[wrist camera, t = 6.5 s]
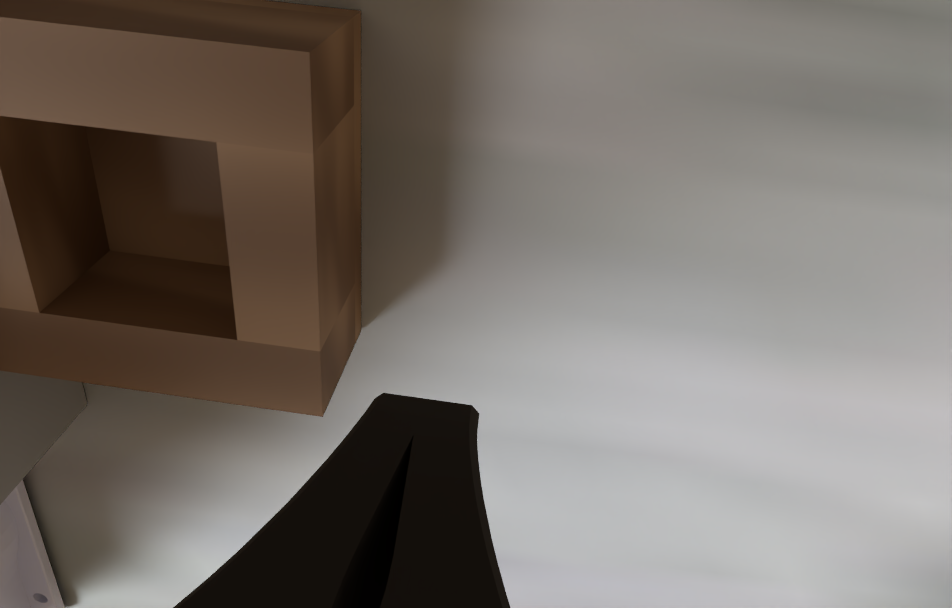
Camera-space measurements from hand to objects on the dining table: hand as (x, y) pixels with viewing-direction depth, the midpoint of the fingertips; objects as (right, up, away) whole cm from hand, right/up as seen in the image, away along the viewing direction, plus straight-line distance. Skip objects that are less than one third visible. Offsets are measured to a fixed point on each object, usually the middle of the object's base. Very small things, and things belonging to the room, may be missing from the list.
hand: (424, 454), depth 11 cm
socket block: (-6, +5, +8) cm, 11 cm away
